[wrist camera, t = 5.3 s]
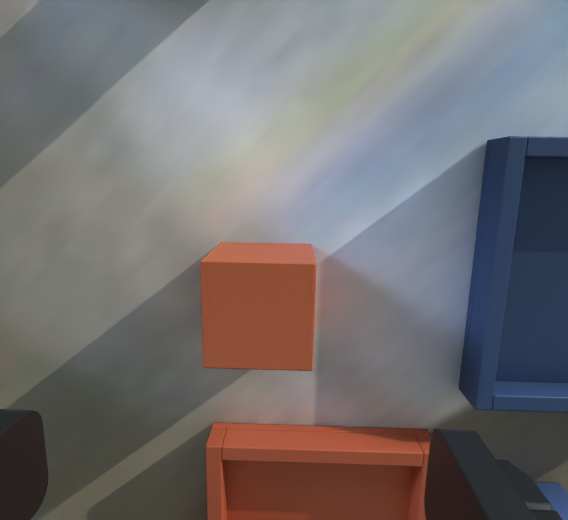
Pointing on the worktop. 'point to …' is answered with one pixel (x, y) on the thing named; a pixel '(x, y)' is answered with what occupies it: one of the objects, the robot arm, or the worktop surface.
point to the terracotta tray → (315, 472)
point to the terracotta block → (258, 306)
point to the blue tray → (520, 280)
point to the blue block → (555, 497)
